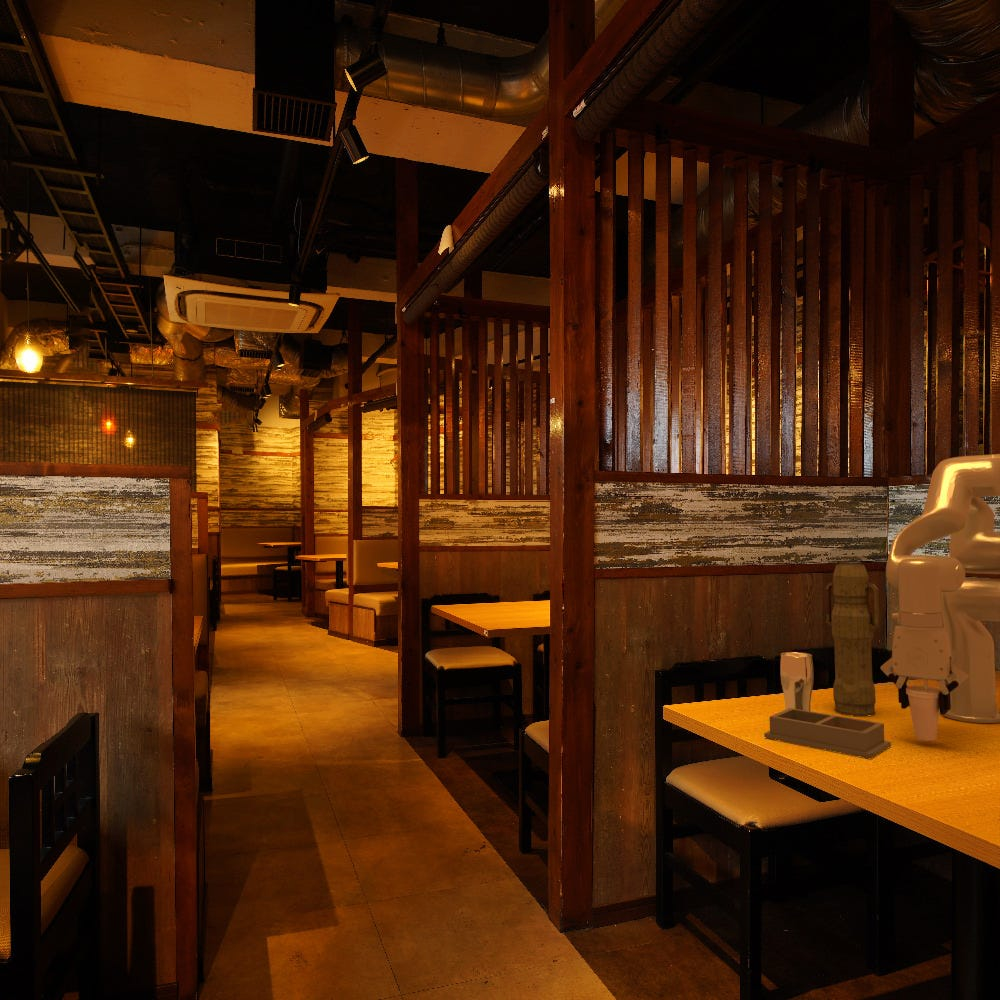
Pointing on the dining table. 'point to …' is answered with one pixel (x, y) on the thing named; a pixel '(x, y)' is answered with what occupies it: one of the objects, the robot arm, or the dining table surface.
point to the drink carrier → (828, 732)
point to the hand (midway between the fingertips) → (924, 709)
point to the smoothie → (924, 710)
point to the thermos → (852, 638)
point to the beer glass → (797, 679)
